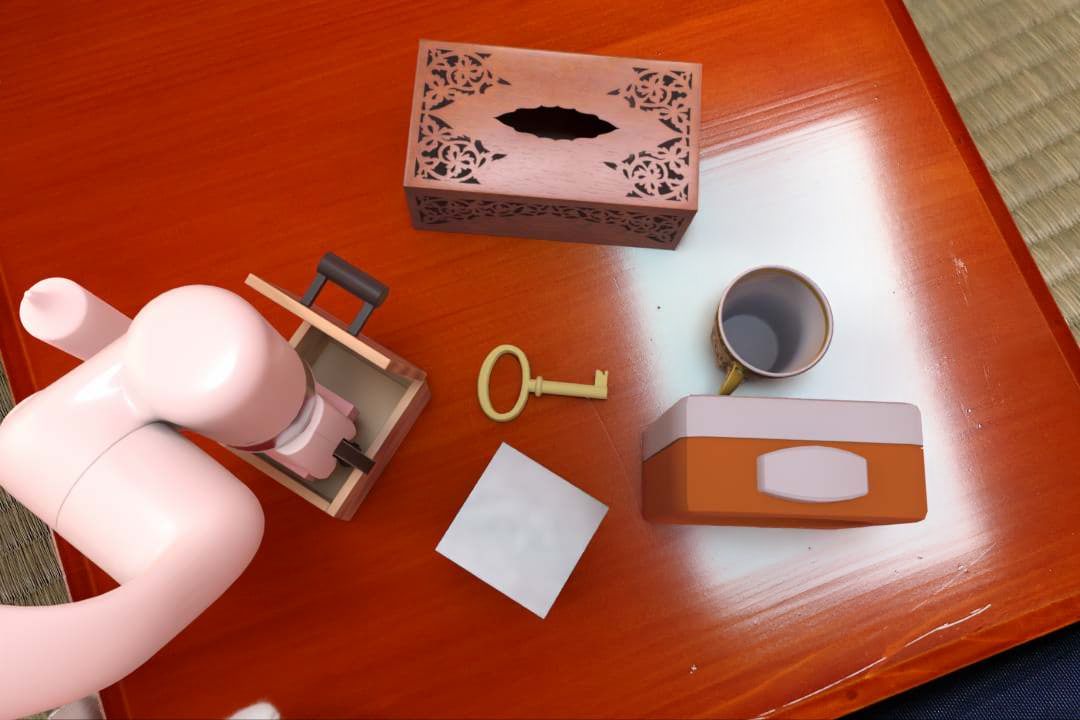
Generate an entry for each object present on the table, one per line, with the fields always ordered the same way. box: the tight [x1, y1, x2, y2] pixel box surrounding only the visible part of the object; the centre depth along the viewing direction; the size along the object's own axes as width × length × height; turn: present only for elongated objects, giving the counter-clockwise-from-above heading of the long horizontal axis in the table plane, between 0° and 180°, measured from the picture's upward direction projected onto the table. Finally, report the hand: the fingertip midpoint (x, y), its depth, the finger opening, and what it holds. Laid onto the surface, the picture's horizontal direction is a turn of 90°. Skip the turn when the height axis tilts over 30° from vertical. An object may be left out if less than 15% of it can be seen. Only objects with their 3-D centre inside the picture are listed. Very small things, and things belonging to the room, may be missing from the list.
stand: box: [434, 440, 611, 621], centre depth 66 cm, size 8×8×25 cm
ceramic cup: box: [709, 264, 834, 396], centre depth 78 cm, size 13×10×10 cm
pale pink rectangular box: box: [264, 382, 360, 482], centre depth 72 cm, size 7×5×3 cm
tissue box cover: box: [402, 38, 703, 251], centre depth 82 cm, size 26×14×10 cm, turn 86°
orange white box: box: [642, 394, 929, 531], centre depth 71 cm, size 18×9×21 cm, turn 88°
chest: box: [216, 320, 433, 522], centre depth 76 cm, size 14×12×8 cm
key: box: [477, 344, 609, 423], centre depth 81 cm, size 7×12×2 cm, turn 102°
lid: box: [244, 251, 428, 381], centre depth 66 cm, size 14×12×5 cm
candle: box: [19, 277, 134, 362], centre depth 68 cm, size 7×7×25 cm
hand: (312, 432), depth 73 cm, fingers closed on pale pink rectangular box, 4 cm apart
